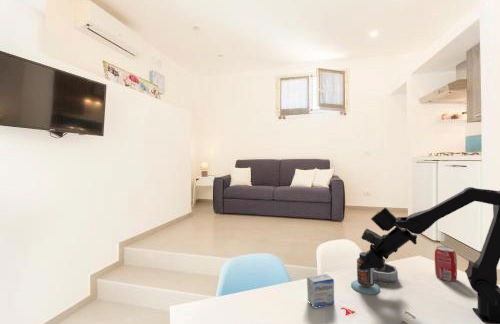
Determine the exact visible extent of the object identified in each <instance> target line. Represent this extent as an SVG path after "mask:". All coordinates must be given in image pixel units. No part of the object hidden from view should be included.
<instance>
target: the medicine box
mask: <svg viewBox="0 0 500 324" xmlns="http://www.w3.org/2000/svg"><path fill="white" fill-rule="evenodd" d="M306 280H307V281H306V286H307V289H306V290H307V302H308V301H309V302H310V303H311V304H312V305H313V306H314V307H318V308H320V307H319V306H323V307H326V305H327V306H331V304H332V305H335V281H334V278H333V277H331V276H330V275H328V274H321V275H320V274H319V275H314V276H308V277H306ZM309 302H308V303H309ZM310 303H309V304H310ZM311 304H310V305H311ZM312 305H311V306H312ZM313 306H312V307H313ZM314 307H313V308H314Z"/></svg>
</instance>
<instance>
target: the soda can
mask: <svg viewBox="0 0 500 324" xmlns="http://www.w3.org/2000/svg"><path fill="white" fill-rule="evenodd" d="M457 261H458V259H457V253H456V251H455V249H454V248H452V247H449V246H444V245H441V246H440V245H439V246H436V248H435V250H434V273H435V276H436V277H437V278H439V279H441V280H443V281H447V282H453V281H456V280H457V277H458V262H457Z"/></svg>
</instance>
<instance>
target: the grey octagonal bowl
mask: <svg viewBox="0 0 500 324" xmlns="http://www.w3.org/2000/svg"><path fill="white" fill-rule="evenodd" d="M398 277H399V273H398V269H397V267H396V266H394V265H391V264H389V263H386V262H385V265H384V267H383V268H382V269H381V270H379V269H378V268H374V283H379V284H387V285H391V284H395V283H398V282H399V279H398Z"/></svg>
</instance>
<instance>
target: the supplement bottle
mask: <svg viewBox="0 0 500 324" xmlns="http://www.w3.org/2000/svg"><path fill="white" fill-rule="evenodd" d="M366 252H367V251H366ZM366 252H365V251H361V252H359V257H358V258H357V259H356V280H357V281H358V283H359V284H360V285H362V286H367V287H370V286H373V285H374V283H375V281H374V268H369V269H362V270H361V269H360V268H359V266H360V265H361V264H362V263H363V261H364V260H365V259H366Z"/></svg>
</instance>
